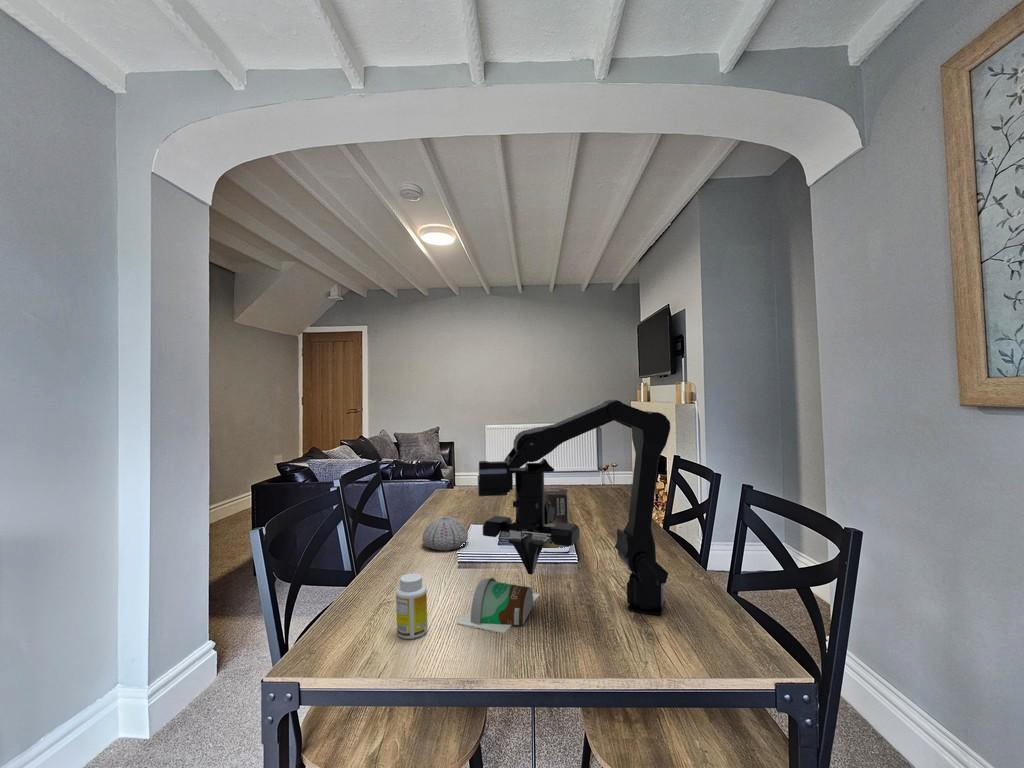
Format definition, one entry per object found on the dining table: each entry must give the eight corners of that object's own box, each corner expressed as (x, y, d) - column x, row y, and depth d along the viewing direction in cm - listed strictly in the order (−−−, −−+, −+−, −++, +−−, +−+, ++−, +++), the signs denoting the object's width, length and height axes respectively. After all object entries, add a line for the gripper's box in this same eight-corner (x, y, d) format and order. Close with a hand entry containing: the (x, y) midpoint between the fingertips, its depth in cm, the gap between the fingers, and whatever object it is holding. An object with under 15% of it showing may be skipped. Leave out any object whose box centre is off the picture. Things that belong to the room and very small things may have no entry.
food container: (520, 595, 91) (469, 591, 94) (520, 629, 91) (469, 623, 94) (534, 571, 103) (488, 568, 105) (534, 601, 103) (489, 597, 105)
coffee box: (569, 546, 139) (568, 489, 140) (569, 553, 133) (567, 493, 133) (537, 545, 141) (536, 488, 141) (535, 552, 134) (534, 493, 134)
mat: (540, 595, 106) (540, 594, 106) (504, 634, 90) (504, 632, 90) (498, 588, 110) (498, 587, 110) (456, 624, 94) (456, 622, 94)
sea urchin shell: (452, 536, 152) (452, 510, 152) (477, 546, 141) (477, 518, 141) (413, 545, 143) (413, 517, 143) (437, 557, 133) (436, 527, 133)
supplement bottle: (428, 624, 94) (427, 570, 94) (426, 639, 89) (425, 582, 89) (398, 626, 94) (397, 572, 94) (394, 641, 88) (393, 584, 88)
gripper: (586, 490, 101) (588, 566, 101) (504, 484, 109) (505, 555, 109) (570, 501, 91) (571, 586, 91) (480, 494, 99) (481, 572, 98)
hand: (530, 573), depth 97 cm, fingers closed
